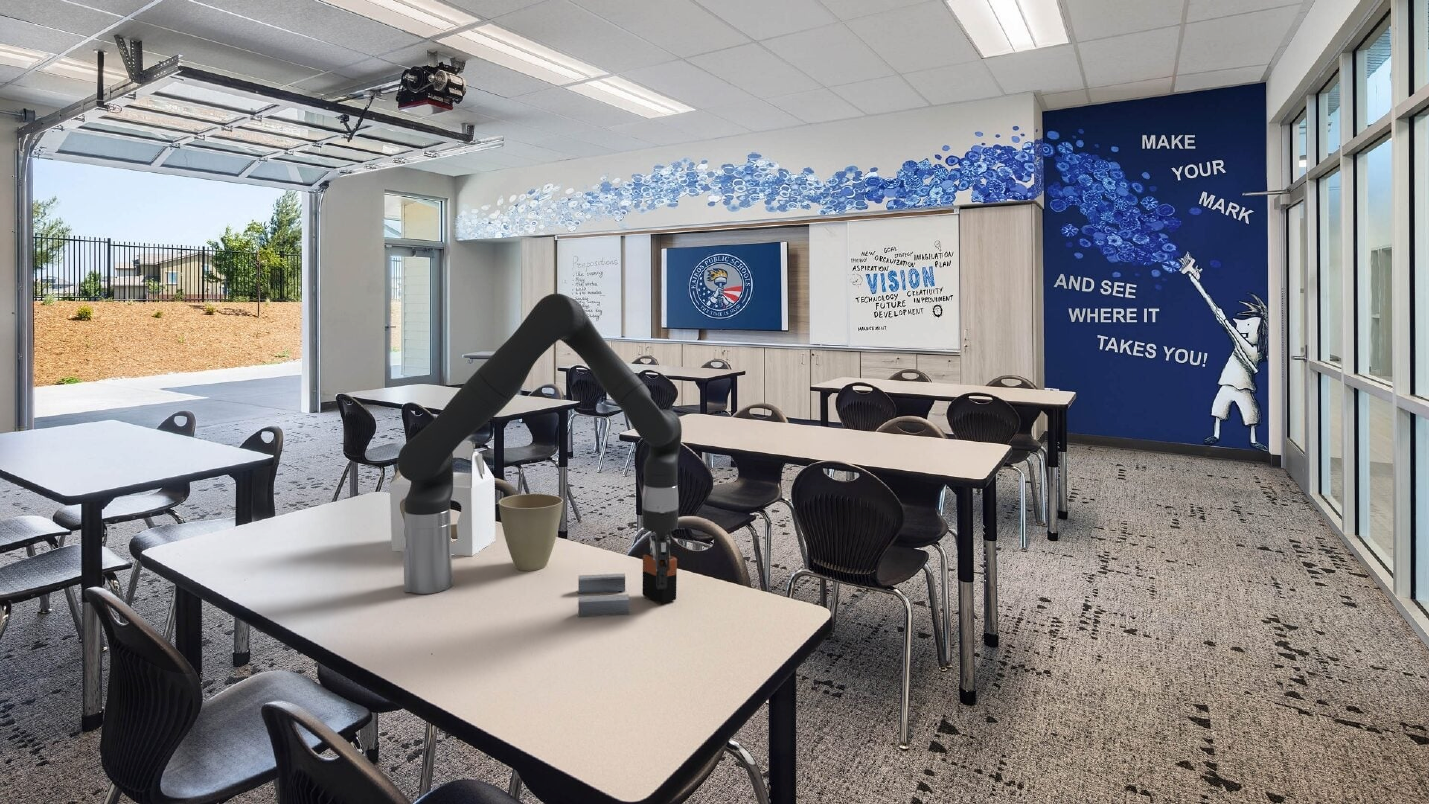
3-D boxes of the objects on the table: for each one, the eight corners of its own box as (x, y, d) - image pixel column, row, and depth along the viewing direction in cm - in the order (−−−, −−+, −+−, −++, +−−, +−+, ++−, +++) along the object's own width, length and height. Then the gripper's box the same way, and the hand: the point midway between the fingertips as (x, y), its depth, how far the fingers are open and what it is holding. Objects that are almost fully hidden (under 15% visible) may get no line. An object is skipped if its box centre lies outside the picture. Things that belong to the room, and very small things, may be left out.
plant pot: (511, 580, 170) (510, 511, 168) (491, 562, 182) (490, 497, 181) (573, 569, 178) (573, 503, 176) (550, 553, 190) (549, 491, 189)
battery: (660, 605, 156) (661, 557, 155) (641, 595, 161) (641, 550, 160) (677, 600, 158) (678, 553, 157) (657, 591, 164) (658, 546, 162)
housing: (578, 616, 149) (578, 600, 149) (578, 590, 164) (578, 575, 164) (629, 614, 151) (629, 597, 151) (624, 588, 166) (624, 573, 165)
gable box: (496, 541, 199) (495, 437, 197) (473, 556, 186) (471, 445, 184) (418, 537, 203) (415, 434, 200) (390, 551, 190) (387, 441, 187)
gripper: (639, 498, 164) (639, 571, 166) (645, 514, 150) (644, 594, 152) (674, 497, 165) (673, 570, 167) (682, 514, 151) (681, 592, 153)
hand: (659, 581), depth 159 cm, fingers closed on battery, 7 cm apart
